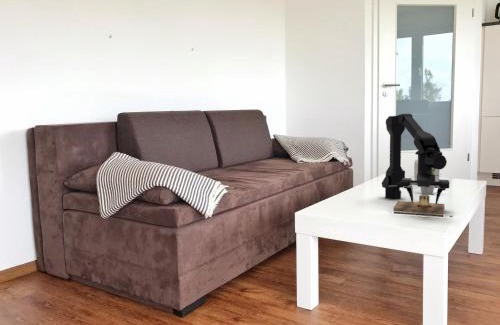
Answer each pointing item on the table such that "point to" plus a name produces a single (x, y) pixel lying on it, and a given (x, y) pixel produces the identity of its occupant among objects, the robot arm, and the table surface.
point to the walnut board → (418, 208)
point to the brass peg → (424, 201)
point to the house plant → (428, 189)
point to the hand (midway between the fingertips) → (424, 203)
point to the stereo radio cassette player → (417, 172)
